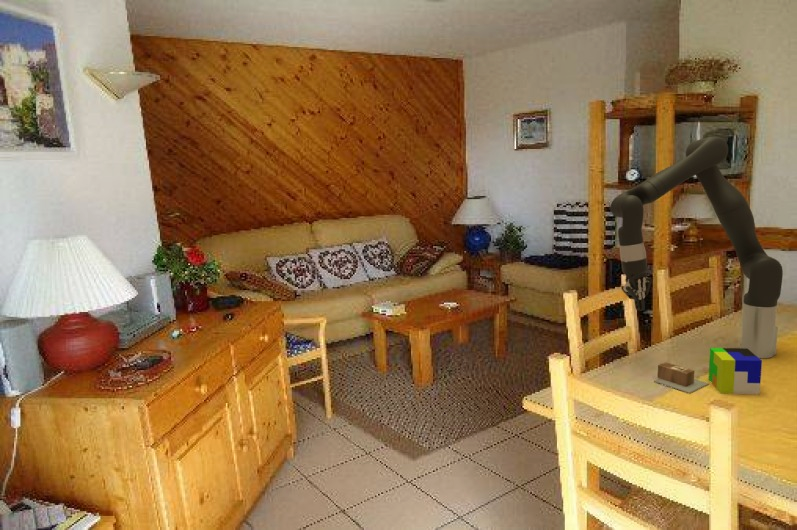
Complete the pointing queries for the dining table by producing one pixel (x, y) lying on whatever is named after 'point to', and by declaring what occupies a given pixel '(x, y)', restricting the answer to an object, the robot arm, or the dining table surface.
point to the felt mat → (688, 389)
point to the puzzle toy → (735, 370)
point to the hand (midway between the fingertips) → (640, 310)
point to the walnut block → (676, 374)
